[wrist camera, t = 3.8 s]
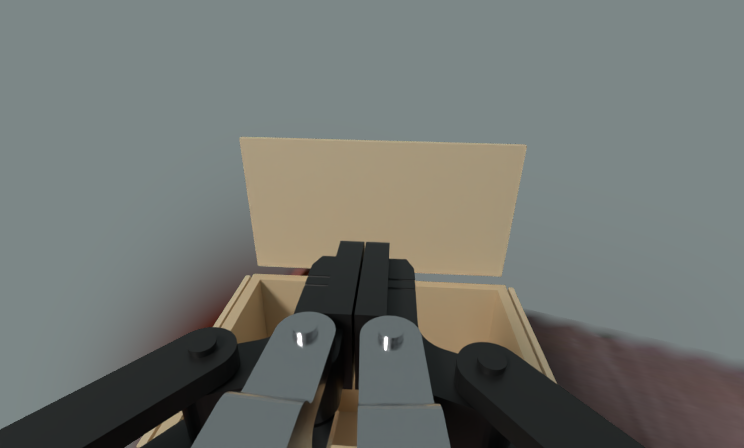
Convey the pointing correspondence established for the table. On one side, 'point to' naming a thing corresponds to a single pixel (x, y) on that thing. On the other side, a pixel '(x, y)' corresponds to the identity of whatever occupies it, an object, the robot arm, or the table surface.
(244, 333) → the kraft box
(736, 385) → the table surface
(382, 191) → the near flap
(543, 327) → the table surface
